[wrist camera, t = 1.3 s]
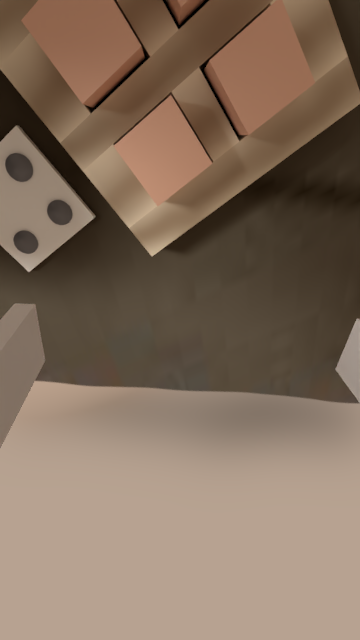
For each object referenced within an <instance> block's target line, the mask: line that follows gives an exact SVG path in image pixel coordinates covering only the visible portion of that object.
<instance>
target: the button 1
mask: <svg viewBox="0 0 360 640" xmlns="http://www.w3.org/2000/svg"><path fill="white" fill-rule="evenodd" d="M21 21H22V22H23V24H24V25H25V27H26V28H27V29H28V31H29V32H30V33H31V35H32V36H33V37H34V39H35V40H36V42H37V43H38V44H39V46H40V47H41V48H42V50H43V51H44V52H45V54H46V55H47V56H48V58H49V59H50V61H51V62H52V63H53V65H54V66H55V67H56V69H57V70H58V71H59V73H60V74H61V76H62V77H63V78H64V80H65V81H66V82H67V84H68V85H69V86H70V88H71V89H72V91H73V92H74V93H75V95H76V96H77V97H78V99H79V100H80V101H81V103H82V104H84V105H87V106H90V107H92V108H94V107H95V106H96V105H97V104H98V103H99V102H100V101H101V100H102V99H103V98H104V97H105V96H106V95H107V94H108V93H109V92H110V91H111V90H112V89H114V88H115V87H116V86H117V85H118V84H119V83H120V82H121V81H122V80H123V79H124V78H125V77H126V76H127V75H128V74H129V73H130V72H131V71H132V70H133V69H134V68H135V67H136V66H137V65H138V64H140V63H141V62H142V61H143V60H144V59H145V56H144V53H143V49H142V46H141V44H140V43H139V41H138V39H137V38H136V36H135V34H134V33H133V31H132V29H131V28H130V26H129V24H128V23H127V21H126V19H125V18H124V16H123V14H122V13H121V11H120V10H119V8H118V6H117V5H116V3H115V1H114V0H38V1H37V2H36V4H35V5H34V6H33V7H32V8H31V9H30V11H29V12H28V13H27V14H26V15H25V16H24V17H23V19H22V20H21Z"/></svg>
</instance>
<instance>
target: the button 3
mask: <svg viewBox="0 0 360 640" xmlns="http://www.w3.org/2000/svg"><path fill="white" fill-rule="evenodd" d="M204 1H205V0H166V2H167V4H168V6H169V8H170V9H171V11H172V13H173V15H174V17H175V19H176V20H177V22H178V24H179V25H180V24H181V23H182V22H183V21H184V20H185V19H186V18H187V17H188V16H189V15H191V14H192V13H193V12H194V11H195V10H196V9H197V8H198V7H199V6H200V5H201V4H202V3H203V2H204Z"/></svg>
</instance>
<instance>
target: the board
mask: <svg viewBox="0 0 360 640" xmlns="http://www.w3.org/2000/svg"><path fill="white" fill-rule="evenodd" d="M37 1H38V0H0V70H1V71H2V72H3V73H4V74H5V76H6V77H7V78H8V79H9V81H10V82H11V83H12V84H13V86H14V87H15V88H16V89H17V91H18V92H19V93H20V94H21V95H22V97H23V98H24V99H25V100H26V102H27V103H28V104H29V105H30V107H31V108H32V109H33V110H34V112H35V113H36V114H37V115H38V116H39V118H40V119H41V120H42V121H43V123H44V124H45V125H46V126H47V128H48V129H49V130H50V131H51V133H52V134H53V135H54V136H55V137H56V139H57V140H58V141H59V142H60V144H61V145H62V146H63V147H64V149H65V150H66V151H67V152H68V154H69V155H70V156H71V157H72V158H73V160H74V161H75V162H76V163H77V165H78V166H79V167H80V168H81V170H82V171H83V172H84V173H85V175H86V176H87V177H88V178H89V179H90V181H91V182H92V183H93V184H94V186H95V187H96V188H97V189H98V191H99V192H100V193H101V194H102V196H103V197H104V198H105V199H106V200H107V202H108V203H109V204H110V205H111V207H112V208H113V209H114V210H115V212H116V213H117V214H118V215H119V217H120V218H121V219H122V220H123V221H124V223H125V224H126V225H127V226H128V228H129V229H130V230H131V231H132V233H133V234H134V235H135V236H136V238H137V239H138V240H139V241H140V242H141V244H142V245H143V246H144V247H145V249H146V250H147V251H148V252H149V254H150V255H151V256H153V255H155V254H156V253H157V252H159V251H160V250H162V249H163V248H164V247H166V246H167V245H168V244H170V243H171V242H172V241H174V240H175V239H177V238H178V237H179V236H181V235H182V234H183V233H185V232H186V231H187V230H189V229H190V228H192V227H193V226H194V225H196V224H197V223H198V222H200V221H201V220H202V219H204V218H205V217H206V216H208V215H209V214H211V213H212V212H213V211H215V210H216V209H217V208H219V207H220V206H221V205H223V204H224V203H226V202H227V201H228V200H230V199H231V198H232V197H234V196H235V195H236V194H238V193H239V192H241V191H242V190H243V189H245V188H246V187H247V186H249V185H250V184H251V183H253V182H254V181H255V180H257V179H258V178H260V177H261V176H262V175H264V174H265V173H266V172H268V171H269V170H270V169H272V168H273V167H275V166H276V165H277V164H279V163H280V162H281V161H283V160H284V159H285V158H287V157H288V156H290V155H291V154H292V153H294V152H295V151H296V150H298V149H299V148H300V147H302V146H303V145H305V144H306V143H307V142H309V141H310V140H311V139H313V138H314V137H315V136H317V135H318V134H319V133H321V132H322V131H324V130H325V129H326V128H328V127H329V126H330V125H332V124H333V123H334V122H336V121H337V120H339V119H340V118H341V117H343V116H344V115H345V114H347V113H348V112H349V111H351V110H352V109H354V108H355V107H356V106H358V105H359V104H360V90H359V88H358V85H357V82H356V79H355V76H354V73H353V70H352V67H351V64H350V61H349V58H348V56H347V53H346V50H345V47H344V44H343V41H342V38H341V35H340V32H339V29H338V26H337V23H336V21H335V18H334V15H333V12H332V9H331V6H330V3H329V0H282V1H283V3H284V6H285V8H286V11H287V13H288V16H289V18H290V21H291V23H292V26H293V28H294V31H295V33H296V36H297V38H298V41H299V43H300V46H301V48H302V51H303V53H304V56H305V58H306V61H307V63H308V66H309V68H310V71H311V73H312V76H313V78H314V81H315V84H313V85H312V86H311V87H310V88H308V89H307V90H306V91H304V92H303V93H302V94H301V95H299V96H298V97H297V98H296V99H294V100H293V101H292V102H290V103H289V104H288V105H287V106H285V107H284V108H283V109H282V110H280V111H279V112H278V113H276V114H275V115H274V116H273V117H271V118H270V119H269V120H268V121H266V122H265V123H264V124H262V125H261V126H260V127H259V128H257V129H256V130H255V131H254V132H252V133H251V134H250V135H239V136H238V137H237V136H236V134H235V132H234V130H233V129H232V127H231V125H230V123H229V121H228V119H227V118H226V116H225V114H224V112H223V110H222V108H221V107H220V105H219V103H218V101H217V99H216V97H215V96H214V94H213V92H212V90H211V88H210V86H209V85H208V83H207V81H206V79H205V77H204V75H203V74H202V72H201V69H202V68H203V67H204V66H205V65H206V64H207V63H208V62H209V60H210V59H211V58H213V57H214V56H215V55H216V54H217V53H218V52H219V51H220V50H222V49H223V48H224V47H225V46H226V45H227V44H228V43H229V42H230V41H232V40H233V39H234V38H235V37H236V36H237V35H238V34H239V33H241V32H242V31H243V30H244V29H245V28H246V27H247V26H248V25H249V24H251V23H252V22H253V21H254V20H255V19H256V18H257V17H258V16H260V15H261V14H262V13H263V12H264V11H265V10H266V9H267V8H268V7H270V6H271V5H272V4H273V3H274V2H275V1H276V0H209V1H208V2H207V3H206V4H205V5H204V6H203V7H202V8H201V9H200V10H199V11H198V12H197V13H196V14H195V15H194V16H193V17H191V18H190V19H189V20H188V21H187V22H186V23H185V24H184V25H183V26H182V27H181V28H180V29H179V30H178V28H177V26H176V24H175V22H174V20H173V19H172V17H171V15H170V13H169V11H168V9H167V8H166V6H165V4H164V2H163V0H114V1H115V3H116V5H117V6H118V8H119V10H120V11H121V13H122V14H123V16H124V18H125V19H126V21H127V23H128V24H129V26H130V28H131V29H132V31H133V33H134V34H135V36H136V38H137V39H138V41H139V43H140V44H141V46H142V49H143V51H144V52H145V54H146V56H147V57H148V60H147V61H146V62H144V63H143V64H142V65H141V66H140V67H139V68H138V69H137V70H136V71H135V72H134V73H133V74H132V75H131V76H130V77H129V78H128V79H127V80H126V81H125V82H124V83H123V84H121V85H120V86H119V87H118V88H117V89H116V90H115V91H114V92H113V93H112V94H111V95H110V96H109V97H108V98H107V99H106V100H105V101H104V102H103V103H102V104H101V105H100V106H98V107H97V108H96V109H95V110H94V109H93V108H92V107H90V106H87V105H84V104H82V103H81V101H80V100H79V99H78V97H77V96H76V95H75V93H74V92H73V91H72V89H71V88H70V86H69V85H68V84H67V82H66V81H65V80H64V78H63V77H62V76H61V74H60V73H59V71H58V70H57V69H56V67H55V66H54V65H53V63H52V62H51V61H50V59H49V58H48V56H47V55H46V54H45V52H44V51H43V50H42V48H41V47H40V46H39V44H38V43H37V42H36V40H35V39H34V37H33V36H32V35H31V33H30V32H29V31H28V29H27V28H26V27H25V25H24V24H23V22H22V21H21V20H22V19H23V17H24V16H25V15H26V14H27V13H28V12H29V11H30V9H31V8H32V7H33V6H34V5H35V4H36V2H37ZM170 95H171V96H172V97H173V99H174V101H175V102H176V104H177V106H178V107H179V109H180V111H181V112H182V114H183V116H184V117H185V119H186V120H187V122H188V124H189V125H190V127H191V129H192V130H193V132H194V134H195V135H196V137H197V139H198V140H199V142H200V144H201V145H202V147H203V149H204V150H205V152H206V154H207V155H208V157H209V159H210V160H211V162H212V164H211V165H210V166H209V167H208V168H206V169H205V170H204V171H203V172H201V173H200V174H199V175H197V176H196V177H195V178H194V179H192V180H191V181H190V182H189V183H187V184H186V185H185V186H183V187H182V188H181V189H180V190H178V191H177V192H176V193H174V194H173V195H172V196H171V197H169V198H168V199H167V200H166V201H164V202H163V203H162V204H160V205H159V206H157V205H156V203H155V202H154V201H153V199H152V198H151V197H150V195H149V194H148V193H147V191H146V190H145V189H144V187H143V186H142V184H141V183H140V182H139V180H138V179H137V178H136V176H135V175H134V174H133V172H132V171H131V169H130V168H129V167H128V165H127V164H126V163H125V161H124V160H123V159H122V157H121V156H120V154H119V153H118V152H117V150H116V149H115V148H114V145H115V144H116V143H118V142H119V141H120V140H121V139H122V138H123V137H124V136H125V135H127V134H128V133H129V132H130V131H131V130H132V129H133V128H134V127H135V126H137V125H138V124H139V123H140V122H141V121H142V120H143V119H144V118H146V117H147V116H148V115H149V114H150V113H151V112H152V111H153V110H154V109H156V108H157V107H158V106H159V105H160V104H161V103H162V102H163V101H165V100H166V99H167V98H168V97H169V96H170Z"/></svg>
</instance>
